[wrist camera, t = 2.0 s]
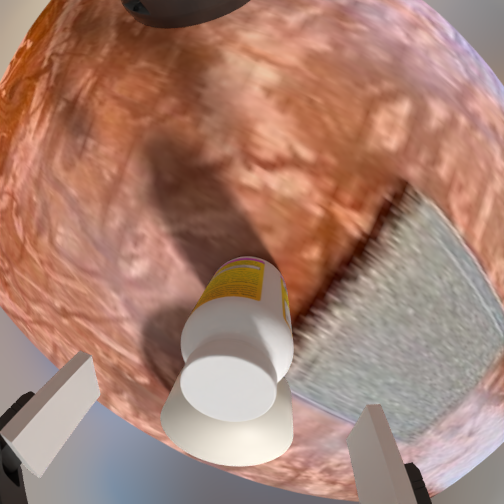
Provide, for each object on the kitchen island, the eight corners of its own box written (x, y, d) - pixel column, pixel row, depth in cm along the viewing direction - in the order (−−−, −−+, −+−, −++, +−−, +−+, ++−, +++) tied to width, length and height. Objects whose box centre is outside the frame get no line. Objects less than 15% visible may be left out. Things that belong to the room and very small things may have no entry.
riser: (165, 349, 27) (143, 384, 21) (290, 349, 25) (294, 389, 20) (190, 426, 30) (179, 460, 24) (291, 429, 28) (292, 466, 23)
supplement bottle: (197, 290, 24) (136, 381, 12) (246, 238, 23) (215, 303, 10) (251, 336, 25) (233, 445, 13) (302, 290, 24) (326, 392, 11)
